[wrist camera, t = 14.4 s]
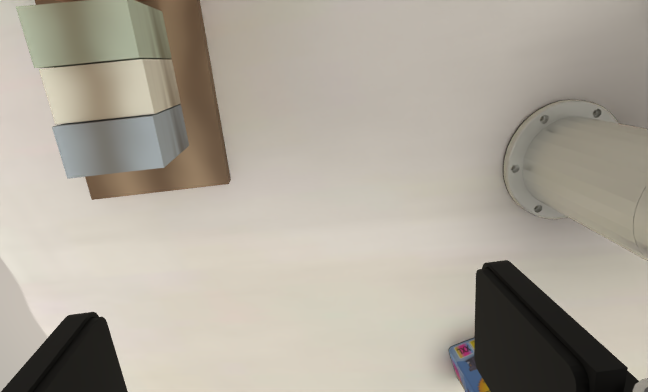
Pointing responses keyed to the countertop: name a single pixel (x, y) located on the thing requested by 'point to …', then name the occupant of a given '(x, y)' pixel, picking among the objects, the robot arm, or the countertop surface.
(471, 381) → the ink cartridge box
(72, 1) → the terracotta rectangular block
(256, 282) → the countertop surface
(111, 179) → the walnut shelf
